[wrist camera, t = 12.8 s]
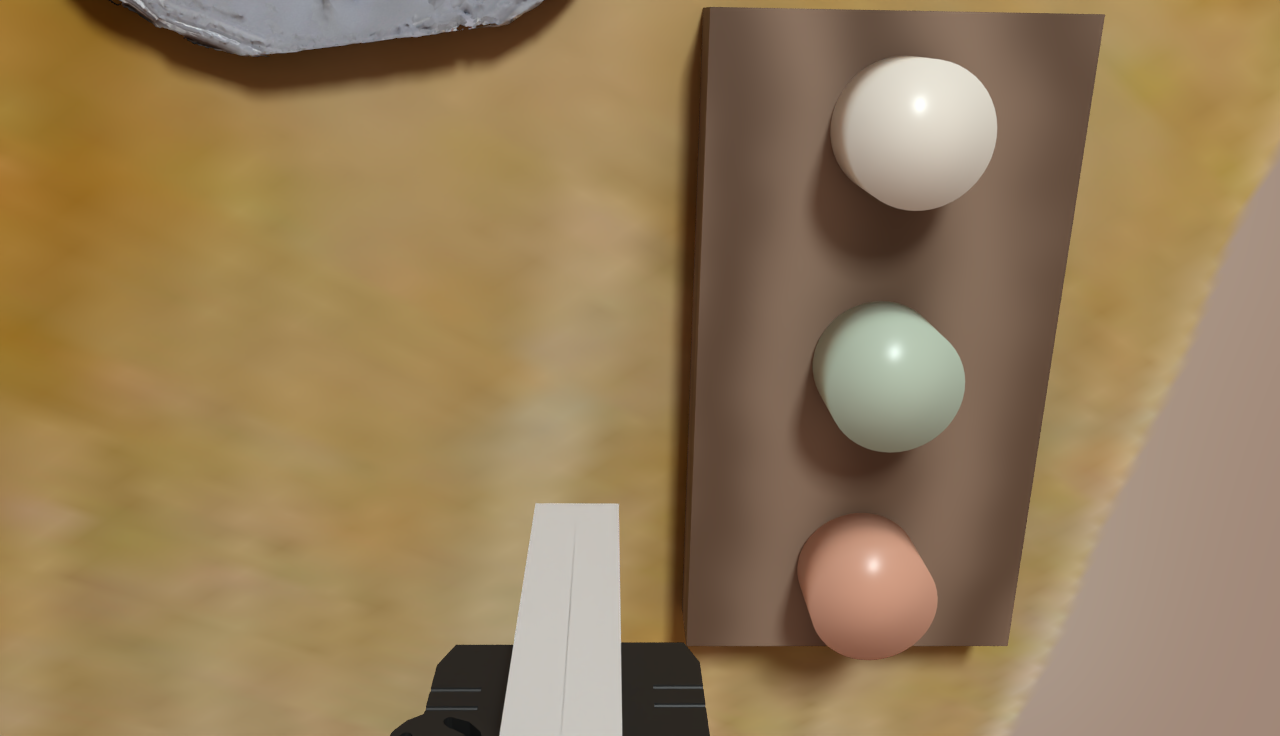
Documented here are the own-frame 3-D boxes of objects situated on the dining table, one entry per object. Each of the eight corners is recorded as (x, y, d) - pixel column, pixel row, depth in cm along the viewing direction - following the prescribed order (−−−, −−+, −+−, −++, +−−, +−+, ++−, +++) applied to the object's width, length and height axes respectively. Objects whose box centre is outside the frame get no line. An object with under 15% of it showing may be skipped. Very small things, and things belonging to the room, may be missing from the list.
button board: (682, 608, 47) (686, 645, 44) (703, 8, 39) (710, 7, 36) (983, 608, 48) (1007, 645, 45) (1069, 15, 39) (1105, 14, 36)
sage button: (808, 422, 41) (822, 452, 38) (817, 300, 39) (833, 322, 36) (932, 422, 41) (956, 452, 38) (947, 301, 39) (973, 323, 37)
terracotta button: (793, 618, 44) (805, 660, 41) (801, 512, 42) (815, 548, 39) (909, 618, 44) (930, 660, 41) (922, 513, 42) (944, 548, 39)
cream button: (825, 195, 38) (842, 210, 35) (835, 54, 36) (854, 57, 33) (959, 197, 38) (987, 211, 35) (975, 56, 36) (1006, 59, 34)
